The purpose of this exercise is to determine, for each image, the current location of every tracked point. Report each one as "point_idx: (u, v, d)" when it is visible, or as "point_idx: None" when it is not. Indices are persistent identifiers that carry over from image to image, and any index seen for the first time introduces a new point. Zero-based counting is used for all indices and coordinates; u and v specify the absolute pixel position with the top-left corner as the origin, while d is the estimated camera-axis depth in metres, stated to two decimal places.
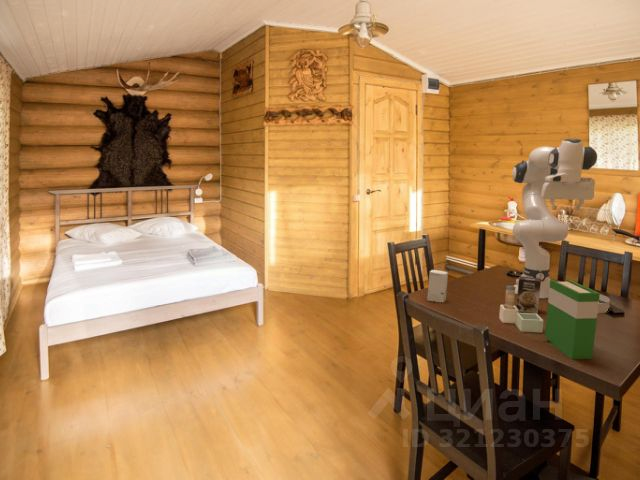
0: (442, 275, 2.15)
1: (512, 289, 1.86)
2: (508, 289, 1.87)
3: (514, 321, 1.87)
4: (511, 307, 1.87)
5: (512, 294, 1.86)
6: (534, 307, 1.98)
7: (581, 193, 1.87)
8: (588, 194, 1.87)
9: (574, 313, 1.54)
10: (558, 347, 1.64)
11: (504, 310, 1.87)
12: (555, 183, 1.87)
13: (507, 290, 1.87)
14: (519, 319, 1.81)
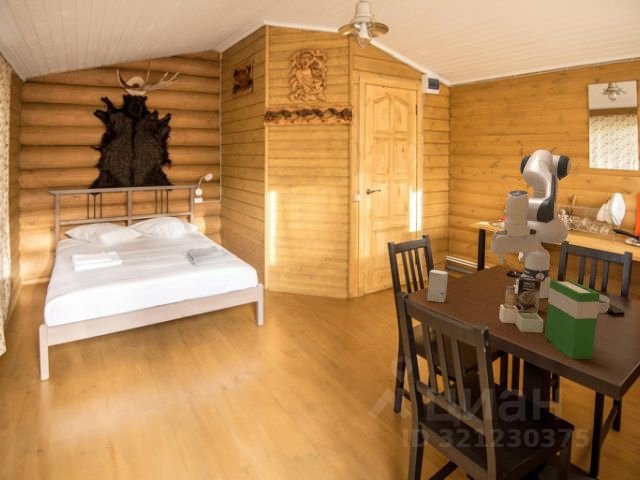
0: (442, 275, 2.15)
1: (512, 289, 1.86)
2: (508, 289, 1.87)
3: (514, 321, 1.87)
4: (511, 307, 1.87)
5: (512, 294, 1.86)
6: (534, 307, 1.98)
7: None
8: None
9: (574, 313, 1.54)
10: (558, 347, 1.64)
11: (504, 310, 1.87)
12: None
13: (507, 290, 1.87)
14: (519, 319, 1.81)
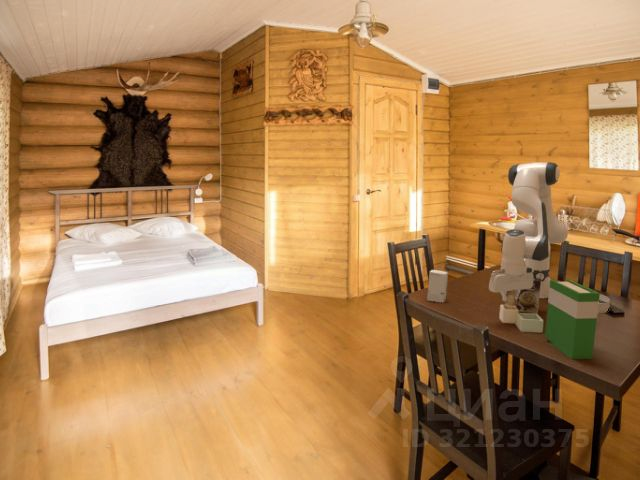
0: (442, 275, 2.15)
1: None
2: None
3: (514, 321, 1.87)
4: (511, 307, 1.87)
5: (512, 294, 1.86)
6: (534, 307, 1.98)
7: None
8: None
9: (574, 313, 1.54)
10: (558, 347, 1.64)
11: (504, 310, 1.87)
12: None
13: None
14: (519, 319, 1.81)
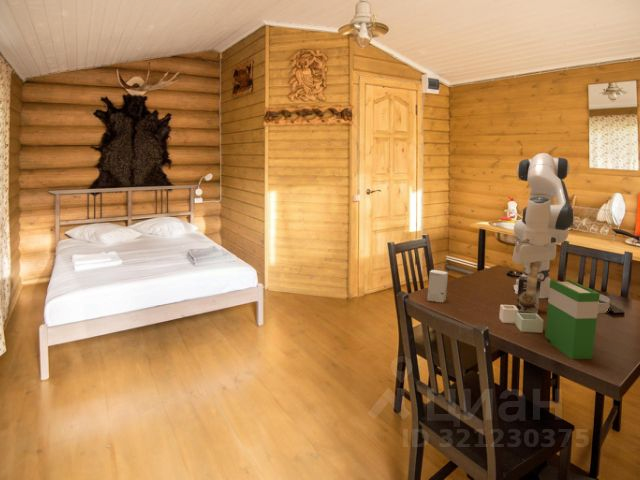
0: (442, 275, 2.15)
1: None
2: None
3: (514, 321, 1.87)
4: (535, 280, 1.76)
5: (536, 266, 1.75)
6: (534, 307, 1.98)
7: None
8: None
9: (574, 313, 1.54)
10: (558, 347, 1.64)
11: (504, 310, 1.87)
12: None
13: None
14: (519, 319, 1.81)
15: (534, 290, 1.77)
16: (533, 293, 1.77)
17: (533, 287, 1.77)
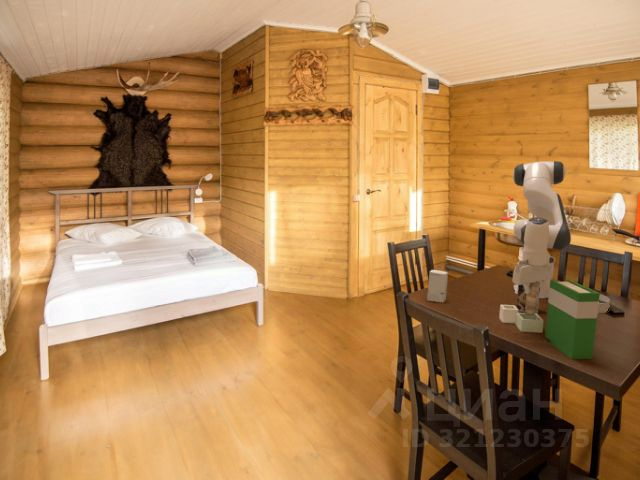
0: (442, 275, 2.15)
1: None
2: None
3: (514, 321, 1.87)
4: (534, 299, 1.78)
5: (535, 286, 1.76)
6: None
7: None
8: None
9: (574, 313, 1.54)
10: (558, 347, 1.64)
11: (504, 310, 1.87)
12: None
13: None
14: (519, 319, 1.81)
15: (533, 310, 1.78)
16: (532, 313, 1.78)
17: (532, 307, 1.78)
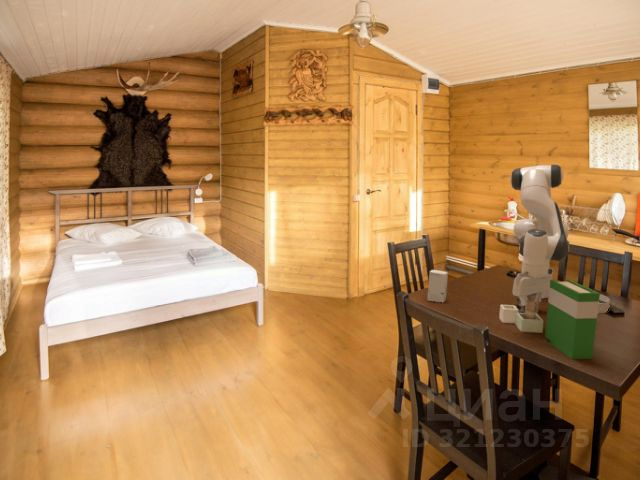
0: (442, 275, 2.15)
1: (533, 295, 1.78)
2: (529, 296, 1.78)
3: (514, 321, 1.87)
4: (532, 314, 1.79)
5: (533, 301, 1.78)
6: None
7: None
8: None
9: (574, 313, 1.54)
10: (558, 347, 1.64)
11: (504, 310, 1.87)
12: None
13: (528, 297, 1.78)
14: (519, 319, 1.81)
15: None
16: None
17: None
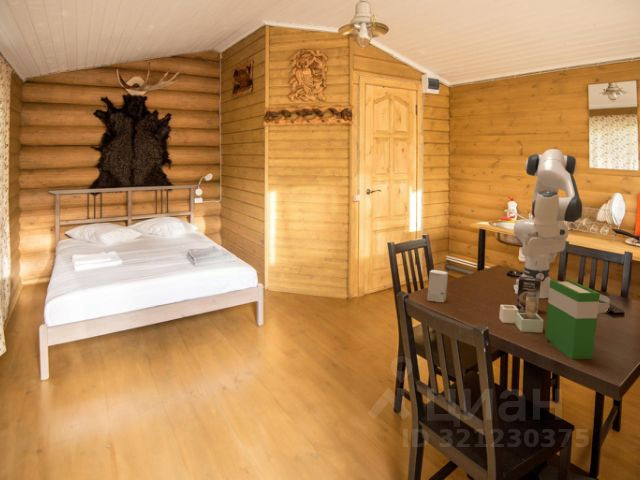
0: (442, 275, 2.15)
1: (534, 296, 1.77)
2: (530, 296, 1.78)
3: (514, 321, 1.87)
4: (533, 315, 1.79)
5: (534, 301, 1.78)
6: None
7: None
8: None
9: (574, 313, 1.54)
10: (558, 347, 1.64)
11: (504, 310, 1.87)
12: None
13: (528, 297, 1.78)
14: (519, 319, 1.81)
15: None
16: None
17: None
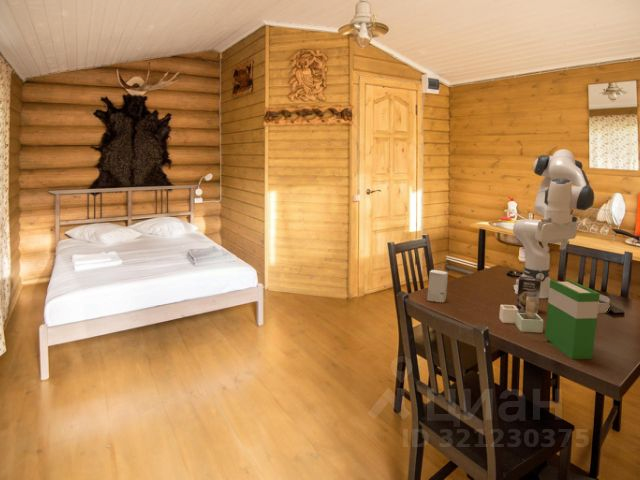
0: (442, 275, 2.15)
1: (534, 296, 1.77)
2: (530, 296, 1.78)
3: (514, 321, 1.87)
4: (533, 314, 1.79)
5: (534, 301, 1.78)
6: None
7: None
8: None
9: (574, 313, 1.54)
10: (558, 347, 1.64)
11: (504, 310, 1.87)
12: None
13: (529, 297, 1.78)
14: (519, 319, 1.81)
15: None
16: None
17: None
